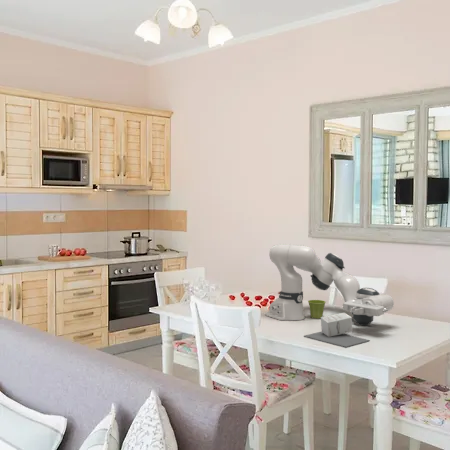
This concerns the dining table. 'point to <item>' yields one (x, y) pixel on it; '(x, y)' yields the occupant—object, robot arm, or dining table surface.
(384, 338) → the dining table surface
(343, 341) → the mat
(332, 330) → the supplement box
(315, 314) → the plant pot
